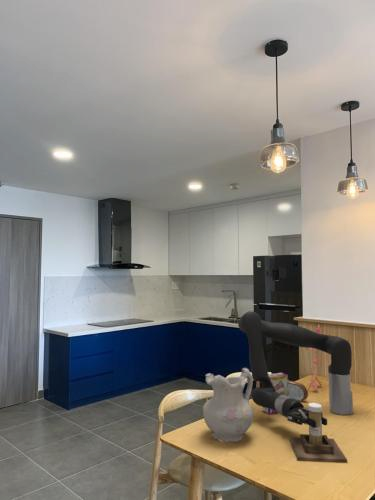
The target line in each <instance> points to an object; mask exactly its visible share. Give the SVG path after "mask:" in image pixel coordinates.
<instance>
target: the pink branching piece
mask: <svg viewBox="0 0 375 500" xmlns="http://www.w3.org/2000/svg"><path fill="white" fill-rule="evenodd" d="M315 332H316V333H319V334H322V327H321V326H320V324H318V325H317V327H316V328H315ZM307 350H309V351H313V350H315V359H313V361H312V363H313V365H312V367H311V368H310V369H311V373H313V368H314V372H315V373H314V374H315V375H314V378H313V374H311V379H310V384H309V385H308V387H307V391H309V390H310V388H311V387H313V389H314V390H315V391H316V392H317V393H319V387H318V385H317V384H316V381H317V382H318V383H319V385H320V386H321V387H322V386H323V385H322V384H321V382H320V380H319V378H318V376H317V373H316V372H317V371H316V365H318V364H319V360H318V349H315V348H305V351H307Z"/></svg>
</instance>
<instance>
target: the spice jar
mask: <svg viewBox="0 0 375 500" xmlns="http://www.w3.org/2000/svg"><path fill="white" fill-rule="evenodd" d="M307 407H308V408H307V409H309V418H310V419H312V420H314V421H316V426H317V427H316V428H313V427H312V426H310V425H308V433H309V443H310V444H317V445H322V435H323V424H322V418H321V417H322V416H321V412H322V411H323V407H322V404H320V403H317V402H310V403H308V406H307ZM322 413H323V412H322Z"/></svg>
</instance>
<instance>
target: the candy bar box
mask: <svg viewBox="0 0 375 500" xmlns="http://www.w3.org/2000/svg"><path fill="white" fill-rule="evenodd" d="M268 375H269V378H270V380H271V382H272V384H273V386H274V388H275V391H276V392H277V393H280V394H282V395H285V396H288V380H289V374H287V373H283V372H277V373H268ZM262 412H264V413H266V414H268V415H273V414H279V413H278V412H276V411H275V410H273V409H270V408H266V407H262Z"/></svg>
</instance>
